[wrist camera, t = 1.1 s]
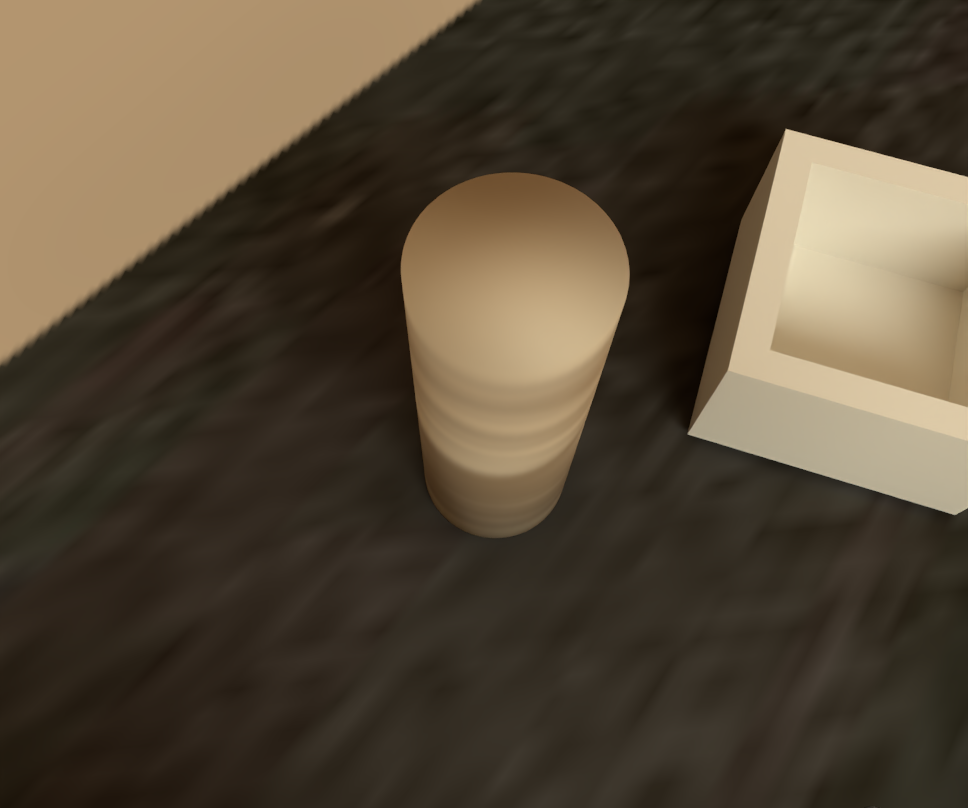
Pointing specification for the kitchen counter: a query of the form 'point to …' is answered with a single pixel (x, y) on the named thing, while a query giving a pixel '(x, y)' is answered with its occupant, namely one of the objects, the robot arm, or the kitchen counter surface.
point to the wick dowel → (508, 341)
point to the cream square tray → (847, 324)
